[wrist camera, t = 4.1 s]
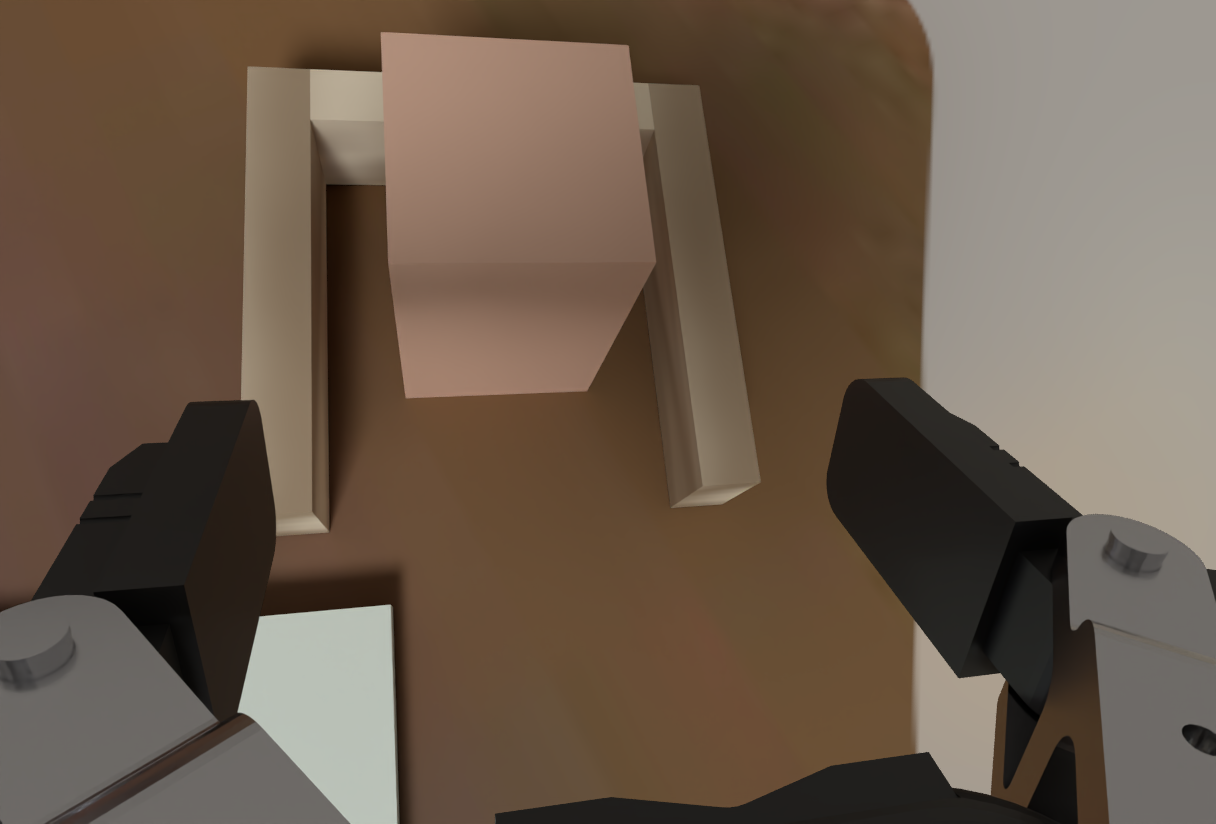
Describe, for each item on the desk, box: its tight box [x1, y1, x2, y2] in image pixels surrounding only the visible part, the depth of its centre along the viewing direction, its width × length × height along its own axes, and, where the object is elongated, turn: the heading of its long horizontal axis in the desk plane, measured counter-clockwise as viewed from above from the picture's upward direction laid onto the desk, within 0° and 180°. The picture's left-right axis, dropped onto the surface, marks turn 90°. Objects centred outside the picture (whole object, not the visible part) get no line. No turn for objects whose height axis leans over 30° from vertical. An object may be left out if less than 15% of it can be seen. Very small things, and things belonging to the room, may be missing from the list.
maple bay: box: [241, 67, 761, 536], centre depth 22 cm, size 12×12×3 cm
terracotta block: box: [381, 32, 656, 398], centre depth 20 cm, size 5×5×8 cm
